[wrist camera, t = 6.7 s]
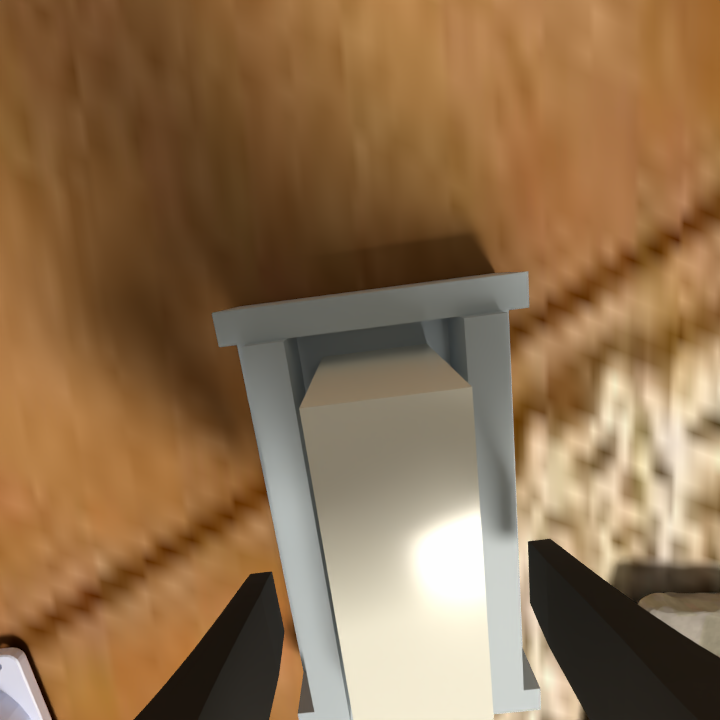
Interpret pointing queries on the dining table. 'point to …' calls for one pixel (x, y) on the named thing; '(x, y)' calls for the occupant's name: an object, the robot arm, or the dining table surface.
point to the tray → (291, 467)
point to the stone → (689, 615)
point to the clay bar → (401, 532)
